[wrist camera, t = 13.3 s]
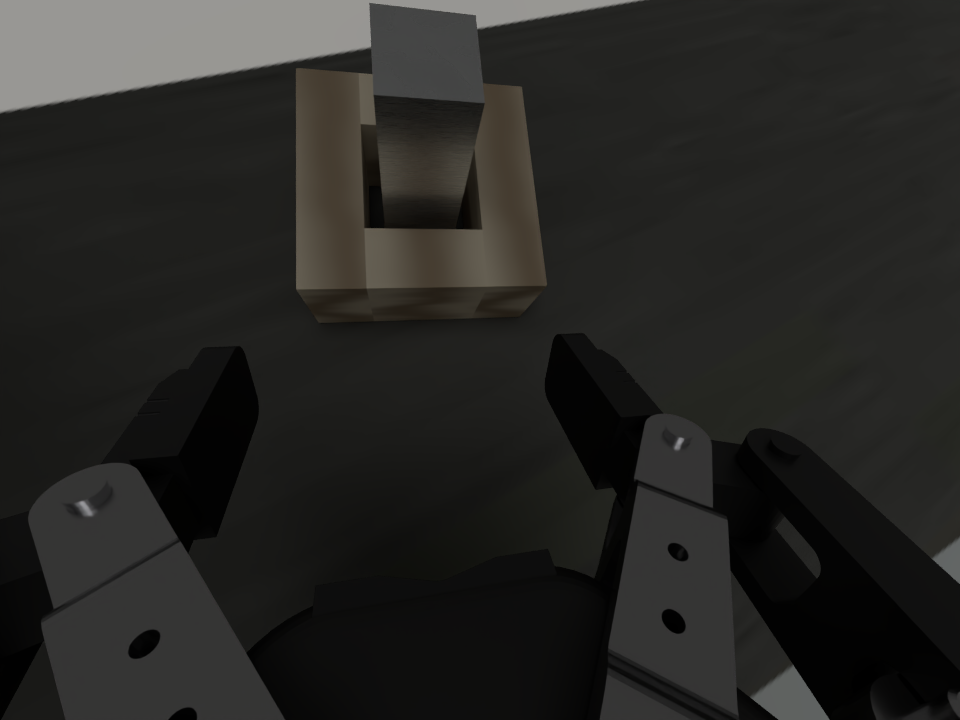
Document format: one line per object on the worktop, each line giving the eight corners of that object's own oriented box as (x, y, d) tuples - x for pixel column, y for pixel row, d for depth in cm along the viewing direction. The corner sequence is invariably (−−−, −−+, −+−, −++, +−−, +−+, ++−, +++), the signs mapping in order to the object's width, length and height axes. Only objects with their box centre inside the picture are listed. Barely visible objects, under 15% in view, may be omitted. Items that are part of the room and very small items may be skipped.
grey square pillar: (387, 258, 29) (373, 95, 16) (384, 202, 30) (369, 3, 17) (448, 257, 30) (484, 103, 17) (444, 204, 31) (475, 15, 17)
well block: (318, 323, 27) (296, 289, 22) (316, 140, 30) (296, 68, 24) (519, 316, 30) (546, 285, 24) (500, 150, 33) (521, 86, 27)
